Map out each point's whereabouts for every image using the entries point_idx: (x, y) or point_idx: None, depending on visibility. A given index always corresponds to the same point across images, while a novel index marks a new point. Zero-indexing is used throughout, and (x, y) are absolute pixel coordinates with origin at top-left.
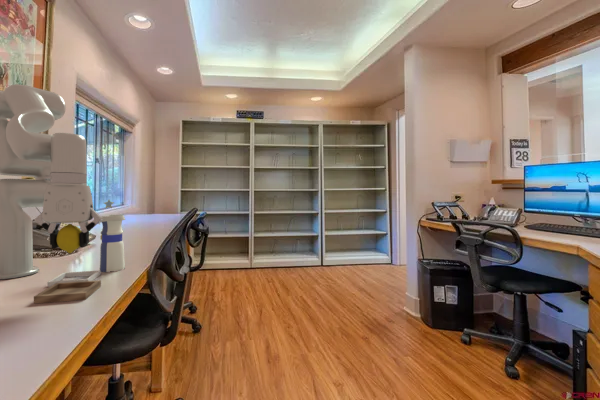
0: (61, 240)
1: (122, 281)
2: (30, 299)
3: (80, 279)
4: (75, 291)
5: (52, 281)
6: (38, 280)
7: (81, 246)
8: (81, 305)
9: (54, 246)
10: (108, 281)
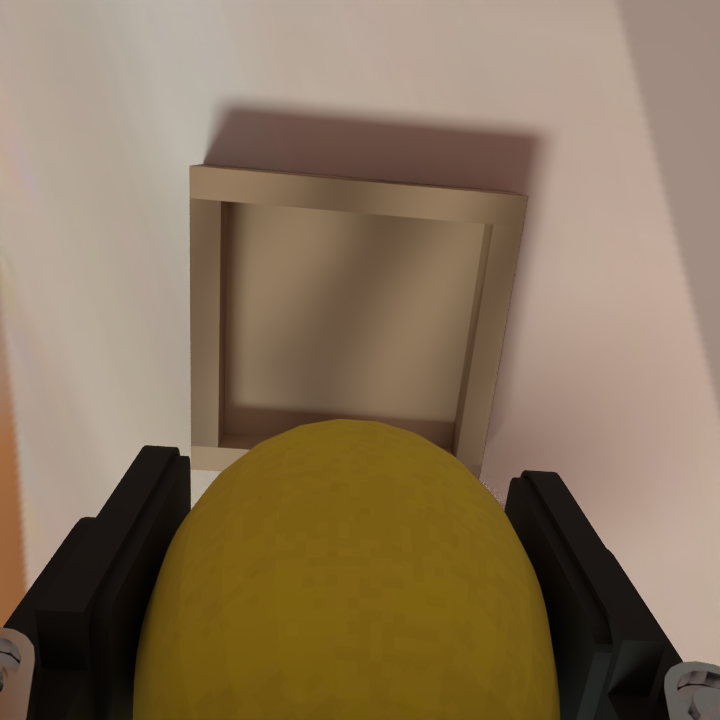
0: (428, 470)
1: None
2: (561, 299)
3: None
4: (317, 336)
5: None
6: None
7: (158, 448)
8: (185, 32)
9: (527, 484)
10: None
